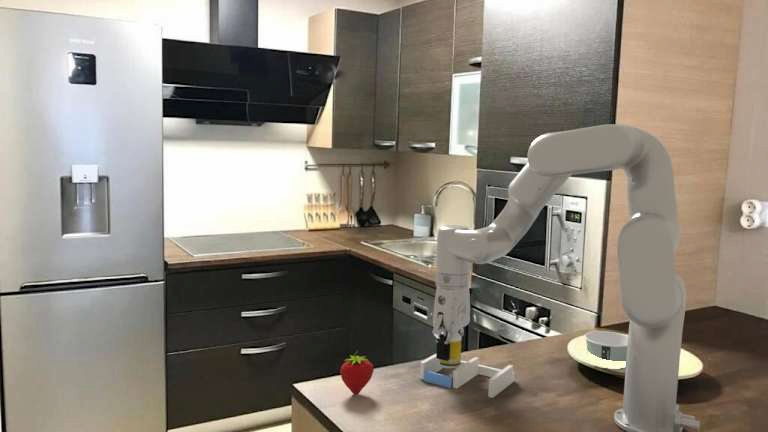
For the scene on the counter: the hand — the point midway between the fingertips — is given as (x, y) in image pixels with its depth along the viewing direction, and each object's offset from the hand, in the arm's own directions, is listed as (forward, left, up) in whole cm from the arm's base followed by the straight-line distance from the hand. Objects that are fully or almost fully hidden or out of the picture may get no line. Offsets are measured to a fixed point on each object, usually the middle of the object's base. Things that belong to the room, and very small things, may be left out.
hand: (449, 355), depth 150 cm
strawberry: (+11, +21, -6) cm, 24 cm away
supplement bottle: (0, 0, -3) cm, 3 cm away
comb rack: (-4, 0, -5) cm, 7 cm away
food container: (-28, -33, -6) cm, 43 cm away
